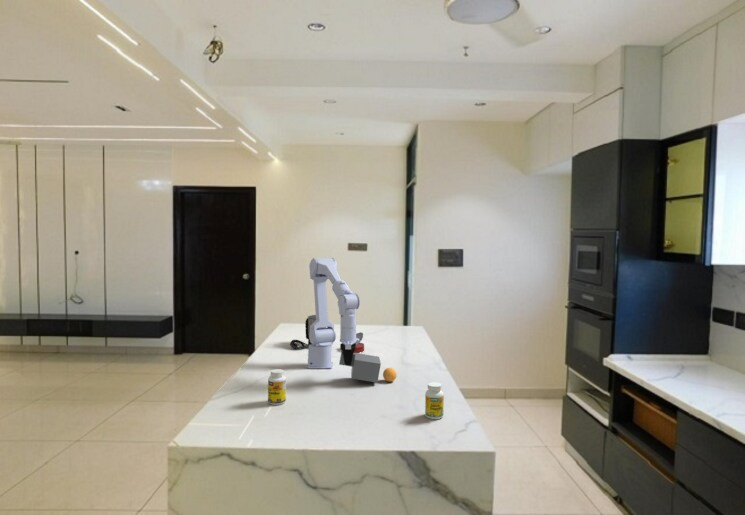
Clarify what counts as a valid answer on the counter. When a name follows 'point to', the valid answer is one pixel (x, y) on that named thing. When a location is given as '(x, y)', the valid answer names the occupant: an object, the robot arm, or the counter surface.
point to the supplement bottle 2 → (434, 401)
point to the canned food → (359, 345)
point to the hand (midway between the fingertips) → (347, 364)
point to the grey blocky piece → (364, 367)
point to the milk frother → (308, 323)
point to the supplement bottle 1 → (276, 387)
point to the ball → (389, 374)
